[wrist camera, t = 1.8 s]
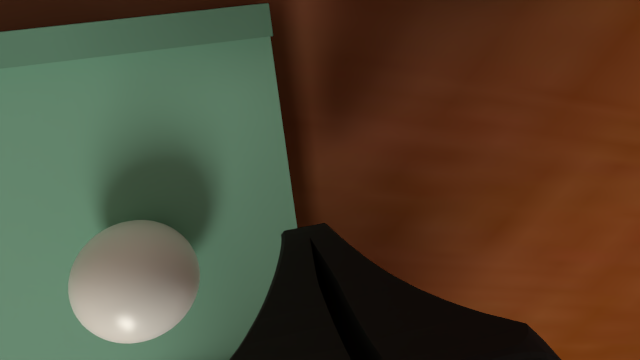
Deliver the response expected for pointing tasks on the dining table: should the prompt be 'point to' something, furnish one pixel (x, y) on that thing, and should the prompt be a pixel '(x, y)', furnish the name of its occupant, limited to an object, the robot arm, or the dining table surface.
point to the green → (140, 171)
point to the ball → (133, 281)
